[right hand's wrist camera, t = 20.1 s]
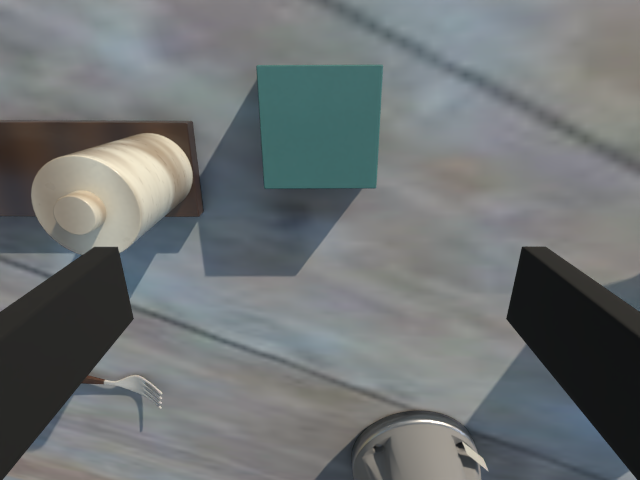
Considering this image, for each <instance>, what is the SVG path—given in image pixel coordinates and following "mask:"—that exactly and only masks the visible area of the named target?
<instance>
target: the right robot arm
mask: <svg viewBox="0 0 640 480" xmlns="http://www.w3.org/2000/svg"><path fill="white" fill-rule="evenodd" d="M133 319H134V318H133V314H132V309H131V305H130V300H129V295H128V291H127V286H126V282H125V277H124V272H123V268H122V263H121V259H120V254H119V249H118V247H93V248H92V249H90V250H89V251H88V252H86V253H85V254H83V255H82V256H80V257H79V258H77V259H76V260H75V261H73V262H72V263H70V264H69V265H67V266H66V267H64V268H63V269H62V270H60V271H59V272H57V273H56V274H54V275H53V276H51V277H50V278H49V279H47V280H46V281H44V282H43V283H41V284H40V285H38V286H37V287H36V288H34V289H33V290H31V291H30V292H28V293H27V294H25V295H24V296H23V297H21V298H20V299H18V300H17V301H15V302H14V303H13V304H11V305H10V306H8V307H7V308H5V309H4V310H2V311H1V312H0V480H3V479H4V477H5V476H6V475H7V474H8V472H9V471H10V470H11V469H12V468H13V466H14V465H15V464H16V463H17V461H18V460H19V459H20V458H21V457H22V455H23V454H24V453H25V452H26V450H27V449H28V448H29V447H30V445H31V444H32V443H33V442H34V441H35V439H36V438H37V437H38V436H39V434H40V433H41V432H42V431H43V430H44V428H45V427H46V426H47V425H48V423H49V422H50V421H51V420H52V418H53V417H54V416H55V415H56V414H57V412H58V411H59V410H60V409H61V407H62V406H63V405H64V404H65V403H66V401H67V400H68V399H69V398H70V396H71V395H72V394H73V393H74V391H75V390H76V389H77V388H78V387H79V385H80V384H81V383H82V382H83V380H84V379H85V378H86V377H87V376H88V374H89V373H90V372H91V371H92V369H93V368H94V367H95V366H96V364H97V363H98V362H99V361H100V360H101V358H102V357H103V356H104V355H105V353H106V352H107V351H108V350H109V349H110V347H111V346H112V345H113V344H114V342H115V341H116V340H117V339H118V337H119V336H120V335H121V334H122V333H123V331H124V330H125V329H126V328H127V326H128V325H129V324H130V323H131V322H132V320H133ZM506 319H507V320H508V322H509V323H510V324H511V325H512V326H513V328H514V329H515V330H516V331H517V333H518V334H519V335H520V336H521V338H522V339H523V340H524V341H525V342H526V344H527V345H528V346H529V347H530V349H531V350H532V351H533V352H534V353H535V355H536V356H537V357H538V358H539V360H540V361H541V362H542V363H543V364H544V366H545V367H546V368H547V369H548V371H549V372H550V373H551V374H552V376H553V377H554V378H555V379H556V380H557V382H558V383H559V384H560V385H561V387H562V388H563V389H564V390H565V391H566V393H567V394H568V395H569V396H570V398H571V399H572V400H573V401H574V403H575V404H576V405H577V406H578V407H579V409H580V410H581V411H582V412H583V414H584V415H585V416H586V417H587V418H588V420H589V421H590V422H591V423H592V425H593V426H594V427H595V428H596V430H597V431H598V432H599V433H600V434H601V436H602V437H603V438H604V439H605V441H606V442H607V443H608V444H609V445H610V447H611V448H612V449H613V450H614V452H615V453H616V454H617V455H618V457H619V458H620V459H621V460H622V461H623V463H624V464H625V465H626V466H627V468H628V469H629V470H630V471H631V472H632V474H633V475H634V476H635V477H636V479H637V480H640V312H639V311H638V310H636V309H635V308H633V307H632V306H630V305H629V304H627V303H626V302H625V301H623V300H622V299H620V298H619V297H617V296H616V295H615V294H613V293H612V292H610V291H609V290H607V289H606V288H604V287H603V286H602V285H600V284H599V283H597V282H596V281H594V280H593V279H591V278H590V277H589V276H587V275H586V274H584V273H583V272H581V271H580V270H578V269H577V268H576V267H574V266H573V265H571V264H570V263H568V262H567V261H565V260H564V259H563V258H561V257H560V256H558V255H557V254H555V253H554V252H552V251H551V250H550V249H548V248H547V247H522V249H521V254H520V259H519V263H518V268H517V272H516V277H515V282H514V286H513V291H512V295H511V300H510V305H509V309H508V314H507V318H506ZM351 459H352V471H353V478H354V480H481V469H480V465H481V466H482V467H484V468H485V469H486V470H487V471H488V469H487V466H486V464H485V462H484V459H483V458H482V457H481V456H479V453H478V451H477V448H476V446H475V443H474V441H473V439H472V437H471V435H470V433H469V432H468V430H467V429H466V428H465V427H464V426H463V425H462V424H461V423H459V422H458V421H456V420H455V419H453V418H451V417H449V416H446V415H443V414H440V413H436V412H430V411H407V412H401V413H397V414H393V415H390V416H387V417H385V418H383V419H380V420H379V421H377V422H375V423H373V424H372V425H370V426H369V427H368V428H367V429H365V430H364V431H363V432H362V434H361V435H360V436H359V437H358V439H357V440H356V442H355V444H354V446H353V449H352V456H351Z"/></svg>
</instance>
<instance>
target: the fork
mask: <svg viewBox="0 0 640 480" xmlns="http://www.w3.org/2000/svg"><path fill="white" fill-rule="evenodd" d="M82 383H86V384H108V385H115V386H119V387H122V388H125V389H128V390H131V391H133V392H136V393H138V394H141V395H143V396H145V397H146V398H148V399H149V400H151V401H152V402H153V403H155V404H156V405H157V406H158V407H159V408H160V409H161V408H162V407H161V406H160V405H159V404H158V403H157V402H155V401H154V400H153V399H152V398H151V397H150V396H152V397H153V398H154V399H156V400H157V401H158V402H159V403H160V404H162V402H161V401H160V400H159V399H158V398H156V397H155V396H154V395H153V394H152V393H151V392H149V391H148V390H147V389H149V390H150V391H152V392H153V393H154V394H155V395H157V396H158V397H159V398H160V399H162V397H161V396H160V395H159V394H157V393H156V392H155V391H154V390H153V389H152V388H150V387H149V386H148V385H147V384H149V385H150V386H151V387H153V388H154V389H155V390H157V391H158V392H159V393H160V394H162V392H161V391H160V390H159V389H157V388H156V387H155V386H154V385H153V384H152V383H150V382H149V381H148V380H146V379H145V378H143V377H141V376H138V375H132V376H128V377H126V378H123V379H121V380H118V381H109V380H104V379H100V378H96V377H92V376H87V377H86V378H85V379H84V380H83V382H82ZM146 383H147V384H146ZM146 388H147V389H146ZM145 392H146V393H148V394H149V395H150V396H148V395H147V394H146V393H145Z"/></svg>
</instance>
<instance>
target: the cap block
mask: <svg viewBox="0 0 640 480" xmlns="http://www.w3.org/2000/svg"><path fill="white" fill-rule="evenodd" d="M256 67H257V83H258V99H259V114H260V130H261V146H262V161H263V177H264V188H265V189H328V188H376V182H377V164H378V146H379V128H380V110H381V92H382V74H383V65H257V66H256Z"/></svg>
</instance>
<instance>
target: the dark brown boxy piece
mask: <svg viewBox="0 0 640 480" xmlns="http://www.w3.org/2000/svg"><path fill="white" fill-rule="evenodd" d="M203 211H204V210H203V202H202V194H201V186H200V178H199V170H198V162H197V154H196V146H195V138H194V130H193V122H192V121H37V120H0V216H36V217H37V219H38V221H39V222H40V224H41V225H42V227H43V228H44V230H45V231H46V232H47V233H48V234H49V235H50V236H51V237H52V238H53V239H54V240H55V241H56V242H58V243H59V244H60V245H62V246H63V247H65V248H67V249H69V250H71V251H73V252H75V253H78V254H81V255H83V254H85V253H86V252H88V251H89V250H90V249H92V248H93V247H118V249H119V253H121V252H123V251H124V250H126V249H127V248H129V247H130V246H131V245H132V244H133V243H134V242H136V241H137V240H138V239H139V238H140V237H141V236H142V235H144V234H145V233H146V232H147V231H148V230H149V229H151V228H152V227H153V226H154V225H155V224H156V223H157V222H159V221H160V220H161V219H162V218H163V217H199V216H200V215H201V214H202V213H203Z"/></svg>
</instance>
